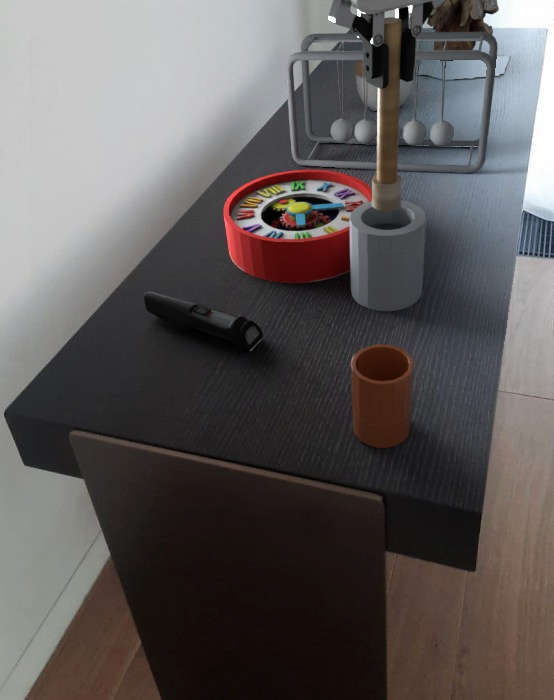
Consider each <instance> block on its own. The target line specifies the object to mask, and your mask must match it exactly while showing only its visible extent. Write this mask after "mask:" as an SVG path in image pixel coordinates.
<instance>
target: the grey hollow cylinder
mask: <svg viewBox="0 0 554 700" xmlns="http://www.w3.org/2000/svg"><path fill="white" fill-rule="evenodd" d="M349 225H350V271H349V272H350V293H351V296H352V299H353V300H354V301H355V302H356V303H357V304H358V305H360V306H362V307H364V308H366V309H369V310H373V311H378V312H395V311H401V310H404V309H407V308H409V307H412V306H413V305H415V304H416V303H417V302H418V301H419V300H420V299H421V297H422V293H423V284H424V283H423V281H424V266H425V265H424V263H425V247H426V246H425V245H426V243H425V242H426V226H427V214H426V212H425V211H424V209H423V208H422V207H420V206H419V205H418V204H416V203H413V202H410V201H407V200H402V199H401V206H400V207H399V208H398V209H396V210H392V211H380V210H377V209H375V208H373V206H372V201H371V202H367V203H364V204H362V205H360V206H359V207H357V208H355V209H354V210H353V211H352V213H351V214H350V219H349Z"/></svg>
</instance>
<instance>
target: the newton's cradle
mask: <svg viewBox="0 0 554 700" xmlns="http://www.w3.org/2000/svg"><path fill="white" fill-rule="evenodd" d="M441 41H446V42H445V44H446V45H444V48H445V50H444V49H443V50H434V49H426V50H425V49H423V50H422V49H421V43H427V42H429V43H430V42H433V43H434V42H441ZM447 41H476V42H479V44H478V49H473V50H446V47H447ZM484 42H486V43H487V44H488V45H489V51H488V53H487V52H485V51H482V48H483V43H484ZM313 43H314V44H315V43H316V44H318V43H341V44H340V45H339V47H338V48H337V49H336V50H309V48H310V46H311V45H312V44H313ZM345 43H363V41H361V40H359V39H358V36H357V35H356V34H355V33H354V32H350V33H349V32H344V33H343V32H342V33H341V32H339V33H335V32H334V33H310V34H309V35H307V36H305V38H304V39H303V40H302V42H301V45H300V51H299V52H295V53H292V54H291V55H290V56H289V57H288V58H287V60H286V63H285V81H286V92H287V93H286V94H287V95H286V96H287V107H288V121H289V135H290V147H291V148H290V149H291V155H292V156H291V157H292V159H293V160H294V162H295V163H296V164H297V165H299V166H301V165H308V166H309V165H311V166H321V167H320V168H322V167H335V168H334V169H348V168H350V170H351V169H352V170H372V171H373V170H376V171H377V161H354V160H353V161H352V160H351V161H350V160H328V159H327V160H324V159H323V160H322V159H312V157H313V155H314V154H315V152H316V150H317V148H318V146H319V145H318V144H319V142H320V141H326V142H327V141H328V142H329V141H335V142H340V143H345V142H346V143H364V144H377V123H376V122H374V121H373V120H372V119H369V118H368V106H367V91H368V83H367V90H366V105H365V86H364V73H363V87H364V103H363V109H364V118H363V119H361V120H359V121H358V122H357V123H356V124H355V126H354V125H353V122H351V121H350V120H349V119H347V118H345V117H344V76H345V75H344V72H345V70H344V69H345V68H344V67H345V66H344V65H345V62H344V61H361V60H362V64H363V50H345ZM416 43H418V44H417V45H416V48H415V70H414V95H413V96H414V97H413V100H414V101H413V108H414V109H413V120H409V121H408V122H406V123H405V124H404V125H403V128H402V126H401V124H400V123H399V136H398V145H423V146H424V145H429V146H462V147H463V146H471V147H470V148H469V154H468V159H467V160H468V161H467V165H463V164H462V165H461V164H433V163H410V162H409V163H407V162H406V163H405V162H398V170H399V171H402V172H424V171H425V173H427V172H428V173H449V172H452V173H451V174H453V173H454V172H455V173H454V174H474V173H475V172H478V171H479V170H480V169H482V168H483V166H484V165H485V162H486V156H487V147H488V137H489V132H490V125H491V116H492V115H491V113H492V103H493V94H494V88H495V87H494V86H495V68H496V59H497V55H498V50H499V49H498V48H499V47H498V41H497V39H496V37H495V36H494V35H493V34H490V33H488V32H435V31H430V32H429V31H427V32H425V31H424V32H423V31H422V33H421V34H420V36H419V37H416ZM341 46H342V50H340V48H341ZM422 60H442V80H441V119H440V120H438V121H436V122H435V123H433V124H432V125H431V127H430V129H429V139H426V137H427V127H426V125H425V124H424V123H423V122H422V121H421V120H418V119H416V118H417V106H418V105H417V104H418V103H417V102H418V86H419V76H418V71H419V64H420V61H422ZM443 60H445V66H444V80H443ZM446 60H481V61H483V62H484V63H485V64H486V67H487V70H486V78H485V82H484V90H483V91H484V92H483V102H482V111H481V120H480V121H481V123H480V130H479V131H480V132H479V138H477V139H476V140H453V139H454V136H455V128H454V126H453V124H451V122H449V121H448V120H444V106H445V87H446V80H445V68H446ZM298 61H301V76H302V91H303V93H302V95H303V108H304V109H303V110H304V125H305V127H304V128H305V133H306V136H307V138H308V139H309V140H310V141H311V140H313V141H318V142H317V143H315V145H314V147H313V149H312V151H311V152H310V154H309V155H308V158H307V159H306V158H303V157H302V156H301V154H300V150H299V136H298V123H297V120H298V119H297V107H296V105H297V104H296V93H295V92H296V91H295V77H294V76H295V75H294V66H295V64H296V62H298ZM309 61H336V67H337V68H336V69H337V81H338V82H337V83H338V96H339V97H338V98H339V109H340V111H339V112H340V118H339V119H336V120H335V121H334V122H333V123H332V125H331V126H330V127H331V128H330V135H331V136H319V135H316V134H315V133H314V131H313V120H312V119H313V117H312V103H311V102H312V99H311V82H310V80H311V79H310V65H309V64H310V63H309ZM339 61H342V75H341V77H342V82H341V84H342V85H341V84H340V69H339ZM417 67H418V71H417V75H416V69H417ZM340 85H341V86H340ZM341 87H342V89H341ZM341 91H342V92H341ZM353 136H354V137H353ZM401 137H402V138H401ZM313 141H312V142H313ZM473 146H479V147H478V149H477V160H476V162H475V163H473V164H471V163H472V157H473V151H474V148H473ZM315 149H316V150H315ZM314 151H315V152H314ZM313 153H314V154H313ZM468 172H469V173H468ZM470 172H471V173H470Z"/></svg>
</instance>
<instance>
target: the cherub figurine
mask: <svg viewBox="0 0 554 700" xmlns="http://www.w3.org/2000/svg"><path fill="white" fill-rule="evenodd" d="M499 10H500V8H499V5H498V0H446V1H445V2H443V3H442V4H441V5H440V6H438V7H437V8H436V9H435V10H434V9H433V10H432V13H431V14H430V16H429V17H428V18H427V20H426V24H427V25H428V26H429V27H431V28H432V30H433V31H434V32H488V33H490V34H492V35H493V34H494V29H493V26H492V25H489V24H488V23H487V22H485V20H484V19H485V17H486V15H487V14H488V15H494V14H497V13H498V12H499ZM445 42H446V41H441V42H433V50H443V49H444V50H445V48H444V45H446V44H445ZM476 45H477V41H447V47H446V50H474V49H475V47H476ZM440 61H442V60H440ZM443 61H445V60H443ZM446 61H453V60H446Z"/></svg>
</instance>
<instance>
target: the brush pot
mask: <svg viewBox="0 0 554 700" xmlns="http://www.w3.org/2000/svg"><path fill="white" fill-rule="evenodd" d="M414 369H415V363H414V360H413V357H412V356H411V354H409V353H408V352H407V351H406V350H405V349H402V348H400V347H398V346H396V345H391V344H384V343H380V344H371V345H369V346H366V347H363V348H360V350H358V351H357V352H355V354H354V355H353V357H352V359H351V361H350V379H351V381H350V383H351V406H352V431H353V433H354V435H355V437H356V436H357V437H356V438H357V439H358V440H359V441H360V442H361V443H362V444H364V443H365V444H364V445H366V444H367V445H366V446H368V445H369V447H371V446H372V447H371V448H377V449H389V448H392V447H396V446H398V445H400V444H402V443H403V442H405V440H407V438H408V436H409V435H410V434H411V433H410V432H411V420H412V406H413V389H414V388H413V387H414V373H415V372H414V371H415V370H414Z"/></svg>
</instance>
